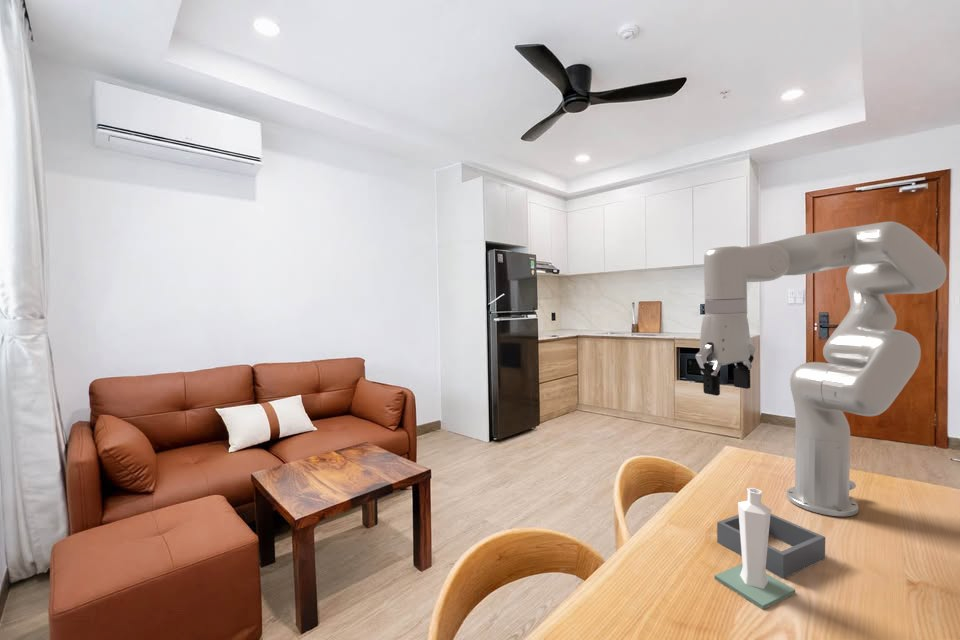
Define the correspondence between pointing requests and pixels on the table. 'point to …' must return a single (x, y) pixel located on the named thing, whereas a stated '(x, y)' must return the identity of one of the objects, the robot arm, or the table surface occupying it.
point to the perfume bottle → (754, 538)
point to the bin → (791, 560)
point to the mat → (755, 588)
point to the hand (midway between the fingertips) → (727, 390)
